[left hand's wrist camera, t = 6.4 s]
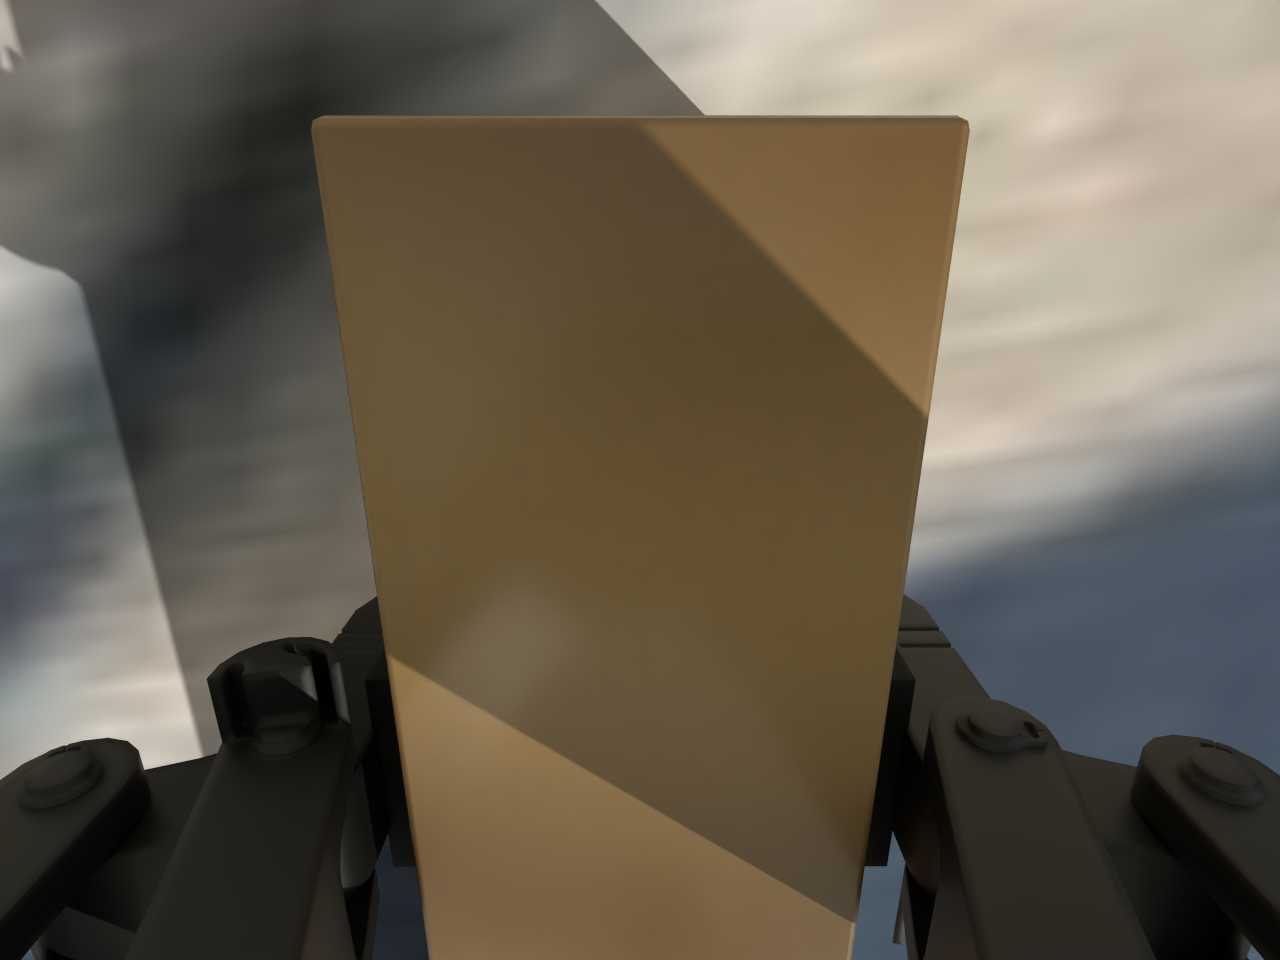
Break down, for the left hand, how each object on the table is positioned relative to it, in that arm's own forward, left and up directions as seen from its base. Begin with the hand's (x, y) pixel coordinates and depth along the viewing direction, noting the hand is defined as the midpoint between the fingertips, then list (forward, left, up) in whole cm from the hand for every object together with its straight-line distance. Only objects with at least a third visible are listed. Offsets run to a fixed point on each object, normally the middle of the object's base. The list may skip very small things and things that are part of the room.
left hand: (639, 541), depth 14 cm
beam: (+3, +27, -1) cm, 27 cm away
